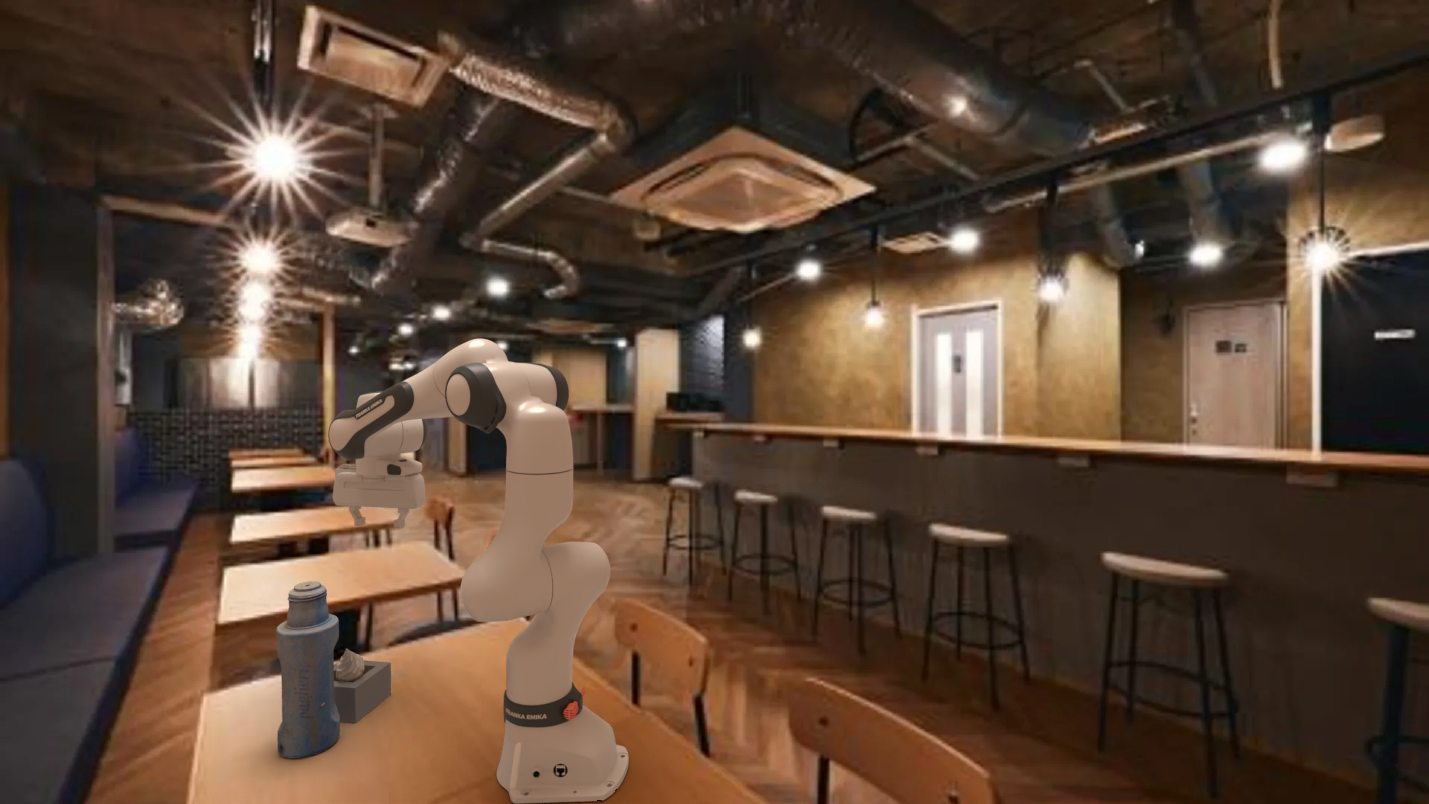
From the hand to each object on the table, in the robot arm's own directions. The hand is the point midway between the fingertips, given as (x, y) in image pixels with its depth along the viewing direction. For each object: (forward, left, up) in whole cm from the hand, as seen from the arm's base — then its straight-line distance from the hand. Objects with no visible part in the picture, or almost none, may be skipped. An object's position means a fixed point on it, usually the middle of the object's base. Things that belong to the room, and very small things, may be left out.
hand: (379, 526), depth 142 cm
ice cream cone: (-1, +10, -33) cm, 35 cm away
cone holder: (-2, +12, -34) cm, 36 cm away
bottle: (-3, +25, -34) cm, 43 cm away
